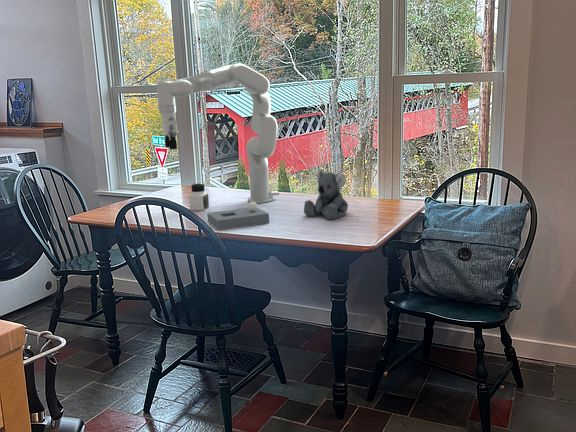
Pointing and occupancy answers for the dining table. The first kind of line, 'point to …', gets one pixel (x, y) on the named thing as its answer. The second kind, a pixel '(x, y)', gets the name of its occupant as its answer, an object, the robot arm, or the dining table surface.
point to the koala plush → (328, 197)
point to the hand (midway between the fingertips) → (171, 148)
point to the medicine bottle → (198, 197)
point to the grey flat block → (237, 218)
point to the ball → (252, 206)
